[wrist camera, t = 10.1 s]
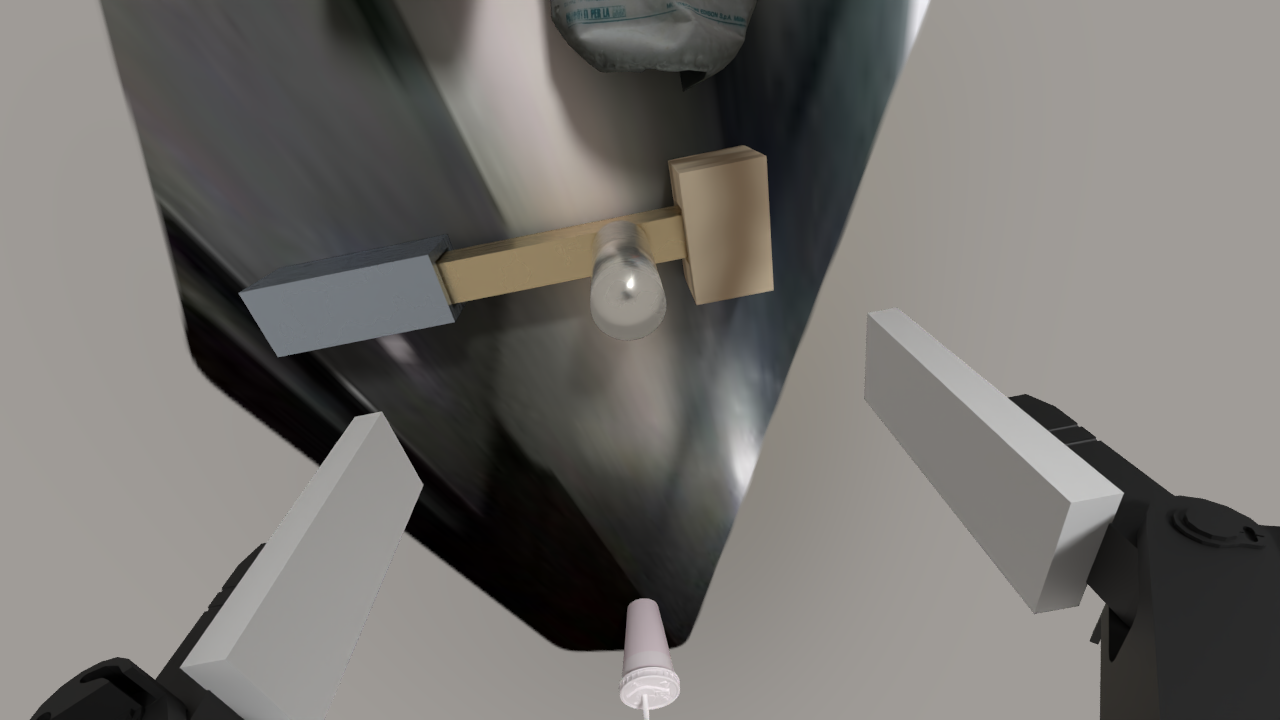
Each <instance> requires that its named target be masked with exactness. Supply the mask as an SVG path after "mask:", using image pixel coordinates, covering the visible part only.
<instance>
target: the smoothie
mask: <svg viewBox="0 0 1280 720" xmlns="http://www.w3.org/2000/svg"><path fill="white" fill-rule="evenodd" d="M679 683H680V680H679V677H678V676H677V674H675V672H674V668H673V664H672V660H671V656H670V652H669V648H668V644H667V640H666V636H665V632H664V628H663V624H662V620H661V616H660V612H659V608H658V605H657V603H656V602H655V601H653V600H651V599H638V600H635V601H633V602H632V603H630V604H629V606H628V609H627V622H626V635H625V648H624V662H623V675H622V679H621V681H620V683H619V690H620V699H621V700H622V702H623V703H624V704H626V705H627V706H629V707H632V708H635V709H640V710H643V715H644V720H649V710H651V709H657V708H661V707H664V706H666V705H668V704H670V703H672V702H673V701H674V700H675V699H676V698H677V697H678V695H679V693H680V686H679Z"/></svg>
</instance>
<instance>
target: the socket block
mask: <svg viewBox="0 0 1280 720" xmlns="http://www.w3.org/2000/svg"><path fill="white" fill-rule="evenodd" d="M668 165H669V172H670V179H671V186H672V193H673V200H674V206H675V205H679V206H680V208H681V210H682V216H683V224H684V231H685V238H686V245H687V252H688V257H687V258H682V262H683V269H684V276H685V279H686V282H687V284H688V286H689V289H690V291H691V293H692V296H693V298H694V300H695V303H696V305H701V304H706V303H711V302H716V301H721V300H726V299H732V298H737V297H742V296H747V295H752V294H757V293H762V292H767V291H772V290H774V287H773V269H772V250H771V232H770V213H769V194H768V176H767V157H766V156H765V155H763V154H761V153H759V152H757V151H755V150H753V149H751V148H749V147H747V146H745V145H741V146H736V147H731V148H726V149H721V150H717V151H712V152H707V153H702V154H697V155H692V156H687V157H682V158H677V159H672V160H668Z"/></svg>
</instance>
